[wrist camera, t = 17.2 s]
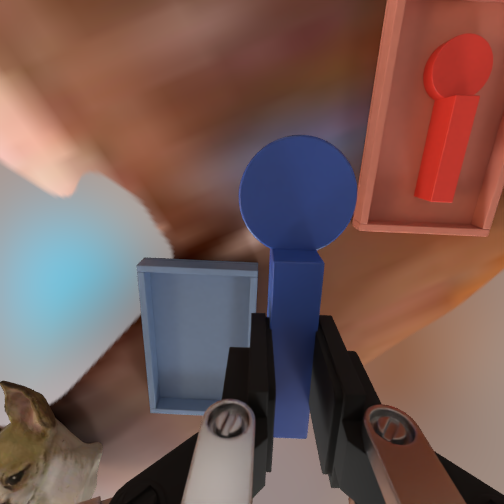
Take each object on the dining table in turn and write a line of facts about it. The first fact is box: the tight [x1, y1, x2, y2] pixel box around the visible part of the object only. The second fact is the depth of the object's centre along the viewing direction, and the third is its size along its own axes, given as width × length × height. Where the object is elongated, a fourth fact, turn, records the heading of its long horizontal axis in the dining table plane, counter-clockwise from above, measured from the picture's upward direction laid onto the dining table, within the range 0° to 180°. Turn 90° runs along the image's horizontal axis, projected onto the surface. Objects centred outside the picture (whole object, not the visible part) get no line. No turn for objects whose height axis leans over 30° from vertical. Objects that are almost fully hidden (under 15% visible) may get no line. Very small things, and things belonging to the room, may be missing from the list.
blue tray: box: [137, 258, 258, 415], centre depth 29 cm, size 16×10×2 cm, turn 178°
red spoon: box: [414, 33, 493, 203], centre depth 21 cm, size 11×4×3 cm, turn 178°
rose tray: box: [352, 0, 504, 236], centre depth 22 cm, size 16×10×2 cm, turn 178°
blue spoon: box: [239, 135, 357, 439], centre depth 11 cm, size 11×4×3 cm, turn 179°
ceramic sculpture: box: [0, 381, 103, 504], centre depth 30 cm, size 11×9×15 cm
